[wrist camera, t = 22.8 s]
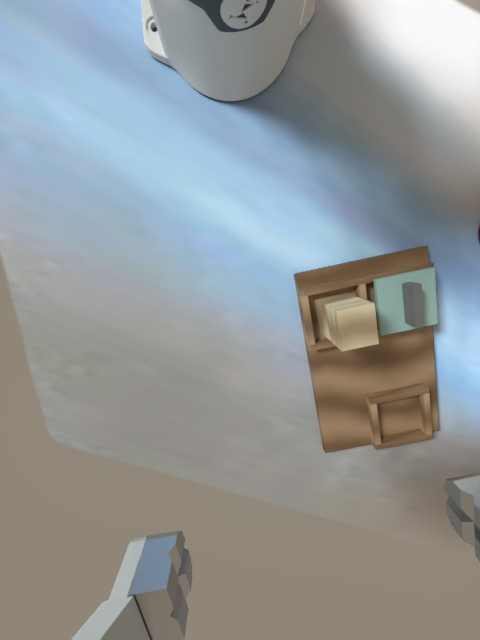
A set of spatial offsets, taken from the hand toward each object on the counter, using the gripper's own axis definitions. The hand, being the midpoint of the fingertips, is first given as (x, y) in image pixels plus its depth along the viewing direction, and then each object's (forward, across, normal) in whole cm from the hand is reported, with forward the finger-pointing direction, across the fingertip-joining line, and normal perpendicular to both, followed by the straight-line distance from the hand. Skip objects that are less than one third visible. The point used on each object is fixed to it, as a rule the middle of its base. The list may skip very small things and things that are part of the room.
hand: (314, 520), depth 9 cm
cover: (+28, -19, +2) cm, 34 cm away
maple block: (+30, -10, +2) cm, 32 cm away
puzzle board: (+31, -15, +9) cm, 36 cm away
